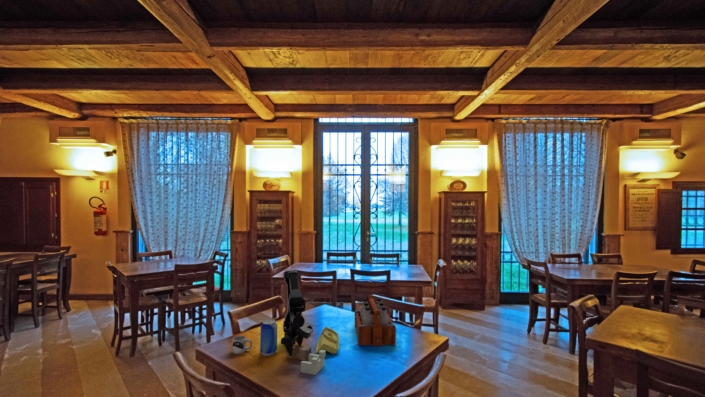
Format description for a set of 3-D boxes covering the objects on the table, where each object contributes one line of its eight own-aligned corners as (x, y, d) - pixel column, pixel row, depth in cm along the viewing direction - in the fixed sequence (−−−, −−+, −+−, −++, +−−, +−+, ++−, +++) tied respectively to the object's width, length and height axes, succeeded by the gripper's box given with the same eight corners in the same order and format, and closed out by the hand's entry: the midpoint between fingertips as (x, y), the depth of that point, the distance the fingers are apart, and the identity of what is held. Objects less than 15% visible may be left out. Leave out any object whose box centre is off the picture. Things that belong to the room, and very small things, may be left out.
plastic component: (339, 350, 164) (321, 342, 163) (332, 363, 164) (315, 355, 163) (339, 332, 184) (323, 325, 183) (333, 343, 184) (317, 336, 183)
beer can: (280, 350, 168) (280, 319, 168) (270, 357, 160) (271, 325, 160) (266, 348, 171) (266, 317, 171) (256, 355, 163) (257, 323, 163)
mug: (230, 354, 163) (230, 341, 164) (234, 348, 170) (234, 335, 170) (250, 353, 164) (250, 340, 164) (253, 348, 171) (253, 335, 171)
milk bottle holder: (358, 348, 172) (358, 312, 173) (354, 324, 207) (354, 294, 208) (397, 347, 173) (397, 311, 174) (386, 324, 208) (386, 294, 209)
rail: (286, 357, 161) (286, 347, 161) (290, 353, 164) (290, 343, 165) (307, 361, 157) (307, 350, 157) (311, 357, 161) (311, 347, 161)
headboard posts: (300, 372, 146) (300, 357, 146) (310, 362, 155) (310, 347, 156) (316, 375, 143) (316, 360, 143) (325, 365, 153) (325, 350, 153)
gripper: (301, 329, 150) (300, 363, 150) (318, 316, 168) (317, 346, 168) (280, 326, 154) (279, 359, 154) (299, 314, 172) (298, 343, 171)
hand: (295, 352), depth 161 cm, fingers open, 9 cm apart
